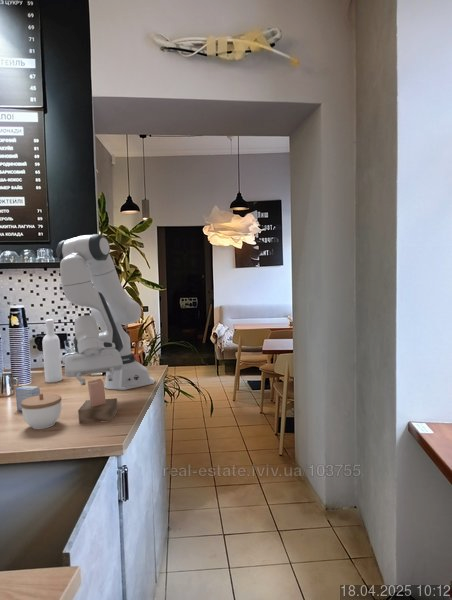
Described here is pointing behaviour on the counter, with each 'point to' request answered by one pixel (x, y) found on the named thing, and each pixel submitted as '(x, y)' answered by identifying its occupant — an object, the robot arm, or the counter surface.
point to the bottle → (51, 354)
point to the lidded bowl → (41, 410)
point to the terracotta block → (96, 392)
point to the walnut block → (97, 411)
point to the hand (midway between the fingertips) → (97, 382)
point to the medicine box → (25, 394)
